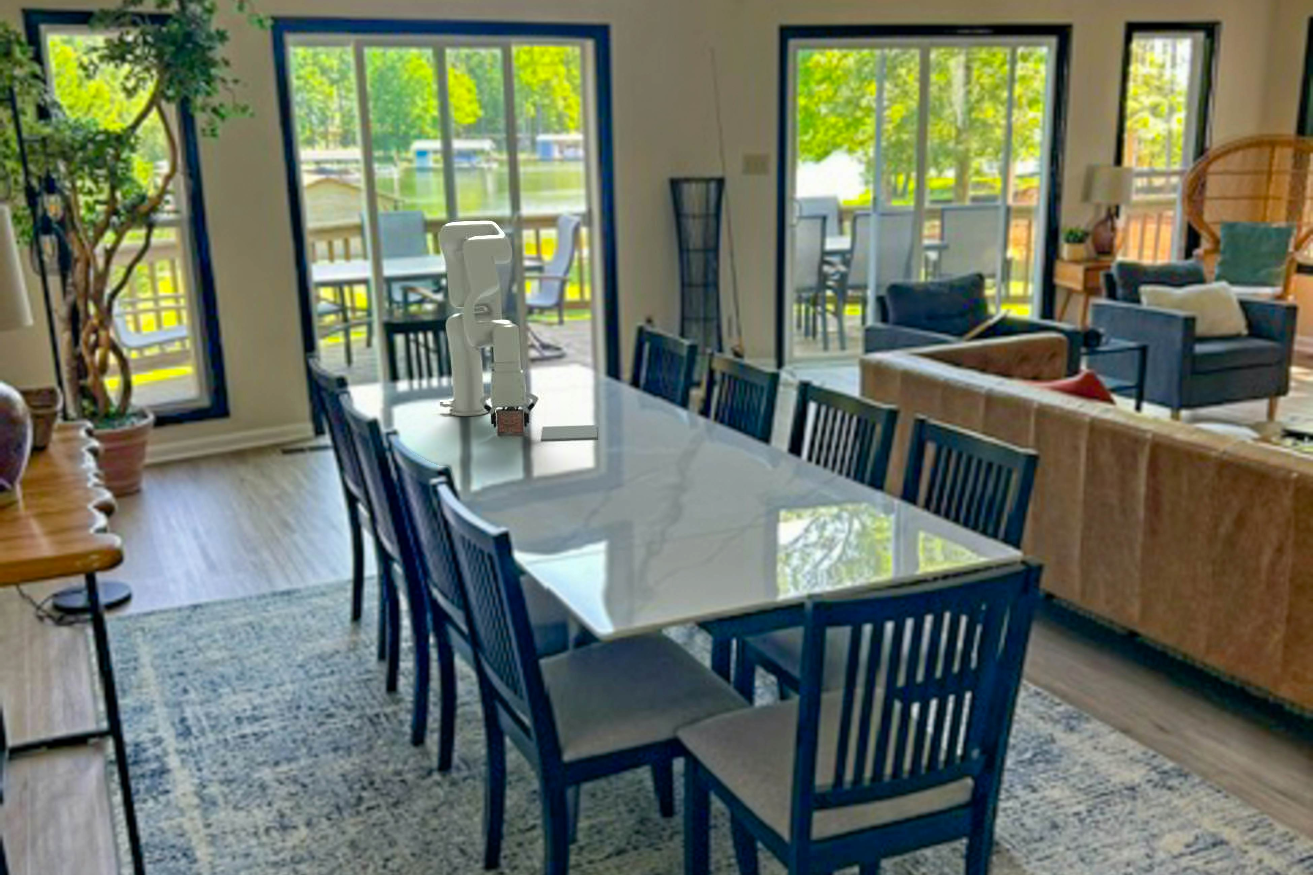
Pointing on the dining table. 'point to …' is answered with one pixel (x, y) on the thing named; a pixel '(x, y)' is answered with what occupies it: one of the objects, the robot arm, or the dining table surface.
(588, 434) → the mat
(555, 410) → the dining table surface
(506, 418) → the lighter
